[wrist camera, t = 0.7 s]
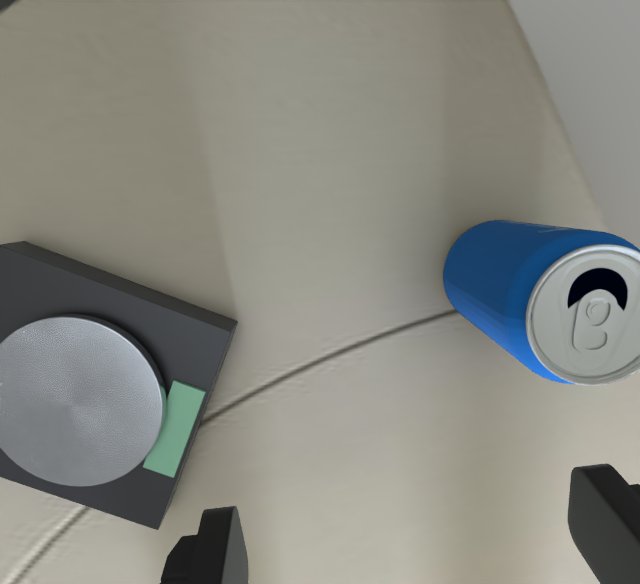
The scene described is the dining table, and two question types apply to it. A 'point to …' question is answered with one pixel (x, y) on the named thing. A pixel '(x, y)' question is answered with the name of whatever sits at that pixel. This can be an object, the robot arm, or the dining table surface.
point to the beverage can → (551, 297)
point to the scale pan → (78, 400)
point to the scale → (159, 341)
